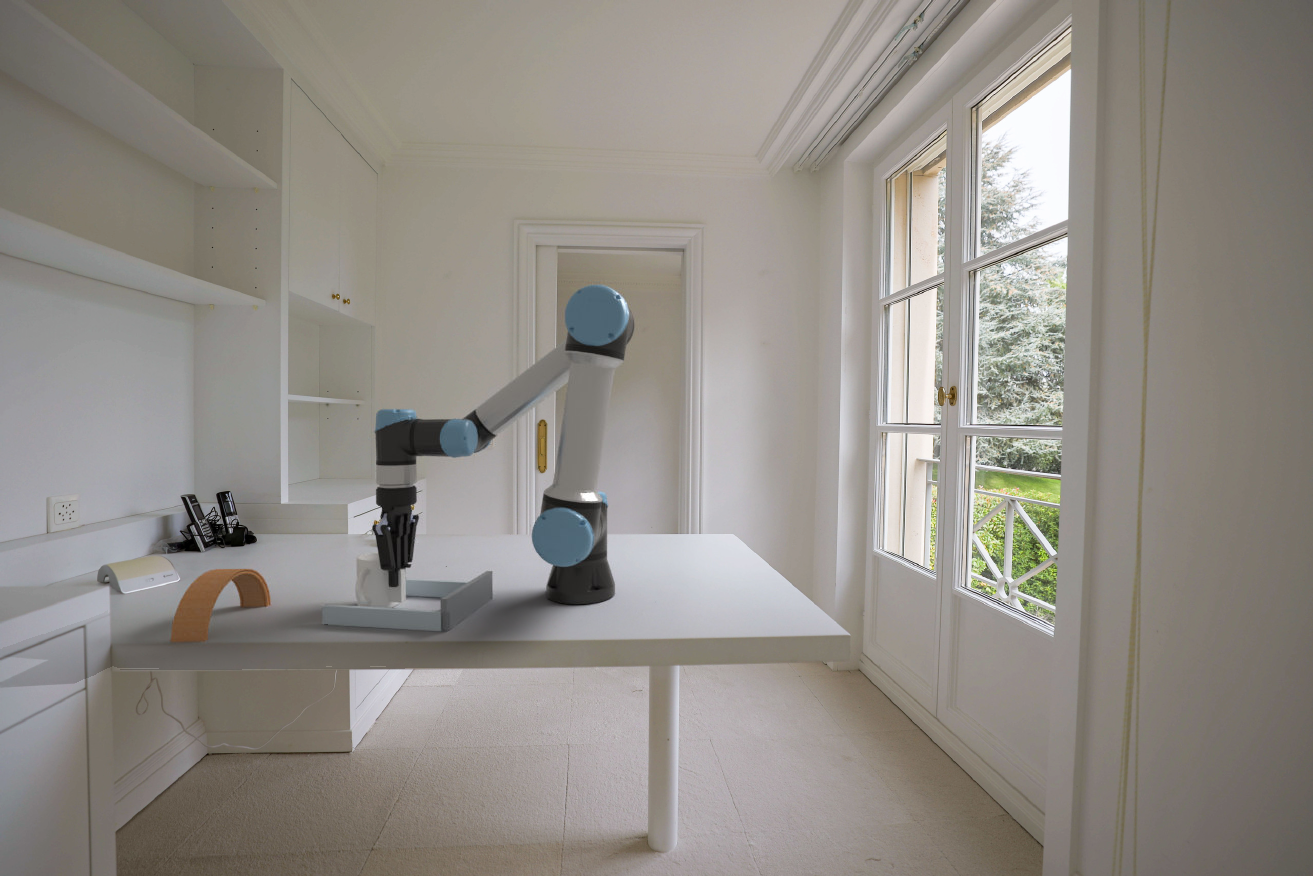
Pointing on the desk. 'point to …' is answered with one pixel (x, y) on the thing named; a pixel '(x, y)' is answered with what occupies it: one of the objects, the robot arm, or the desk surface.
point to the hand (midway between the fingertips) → (397, 601)
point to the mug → (372, 582)
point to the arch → (203, 596)
